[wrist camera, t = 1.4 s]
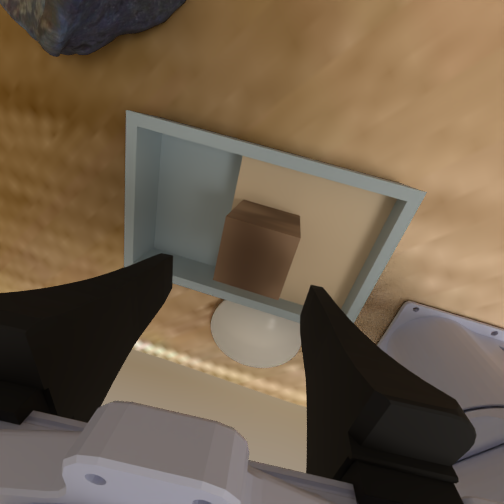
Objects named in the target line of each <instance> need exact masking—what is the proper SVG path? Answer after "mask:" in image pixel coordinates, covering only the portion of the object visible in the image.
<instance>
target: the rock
mask: <svg viewBox="0 0 504 504" xmlns="http://www.w3.org/2000/svg"><path fill="white" fill-rule="evenodd" d="M185 1H186V0H0V4H1V5H2V6H3V8H4V9H5V10H6V11H7V13H8V14H9V15H10V16H11V17H12V18H13V19H14V20H15V21H16V22H17V23H18V24H19V25H20V26H21V27H23V28H24V29H25V30H26V31H27V32H28V33H29V35H30V36H31V37H33V38H34V39H35V40H37V41H38V42H39V44H40V45H41V46H42V48H43V49H44V50H45V51H46V52H48V53H49V54H50V55H52V56H56V57H58V56H59V55H60V53H61V54H64V55H72V54H79V55H88V54H90V53H92V52H95V51H96V50H98V49H100V48H101V47H103V46H105V45H107V44H108V43H110V42H112V41H113V40H114V39H115V38H116V37H117V36H119V35H124V34H132V33H138V32H142V31H145V30H148V29H150V28H152V27H154V26H156V25H158V24H160V23H163V22H165V21H166V20H167V19H168V18H169V17H170V16H171V15H172V13H173V12H174V11H175V10H177V9H178V8H179V7H180V6H181V5H182V4H183V3H184V2H185Z"/></svg>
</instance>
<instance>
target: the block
mask: <svg viewBox="0 0 504 504" xmlns="http://www.w3.org/2000/svg"><path fill="white" fill-rule="evenodd" d="M300 239H301V231H300V216H299V215H296V214H292V213H289V212H285V211H282V210H278V209H275V208H271V207H268V206H265V205H261V204H258V203H254V202H251V201H247V200H244V199H243V200H242V201H241V202H240V203H239V204H238V205H237V206H236V207H235V208H234V209H233V210H232V211H231V212H230V213H229V214H228V215H227V216H226V218H225V223H224V228H223V232H222V237H221V242H220V247H219V252H218V257H217V262H216V267H215V272H214V276H213V280H214V281H218V282H221V283H224V284H227V285H230V286H234V287H237V288H240V289H243V290H246V291H250V292H253V293H256V294H259V295H263V296H266V297H269V298H272V299H275V300H279V297H280V294H281V292H282V289H283V286H284V283H285V280H286V278H287V275H288V272H289V269H290V267H291V264H292V261H293V258H294V256H295V253H296V250H297V247H298V244H299V242H300Z"/></svg>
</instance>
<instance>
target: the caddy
mask: <svg viewBox="0 0 504 504" xmlns="http://www.w3.org/2000/svg"><path fill="white" fill-rule="evenodd" d="M426 193H427V192H424V191H421V190H418V189H415V188H412V187H410V186H407V185H404V184H401V183H397V182H394V181H390V180H386V179H383V178H379V177H376V176H372V175H368V174H365V173H361V172H357V171H354V170H350V169H346V168H343V167H339V166H335V165H332V164H328V163H325V162H321V161H317V160H314V159H310V158H306V157H303V156H299V155H295V154H292V153H288V152H284V151H281V150H277V149H274V148H270V147H266V146H263V145H259V144H255V143H252V142H248V141H244V140H241V139H237V138H233V137H230V136H226V135H223V134H219V133H215V132H212V131H208V130H204V129H201V128H197V127H193V126H190V125H186V124H182V123H179V122H175V121H172V120H168V119H164V118H161V117H157V116H152V115H147V114H143V113H138V112H134V111H129V110H126V155H125V231H124V267H127V266H130V265H132V264H135V263H137V262H140V261H142V260H145V259H147V258H149V257H152V256H154V255H157V254H160V253H164V254H169V255H173V278H172V283H174V284H177V285H180V286H183V287H186V288H190V289H193V290H196V291H199V292H202V293H205V294H209V295H212V296H215V297H218V298H221V299H224V300H228V301H231V302H234V303H237V304H240V305H243V306H247V307H250V308H253V309H256V310H259V311H263V312H266V313H269V314H272V315H275V316H278V317H282V318H285V319H288V320H291V321H294V322H297V323H300V314H301V311H302V308H303V305H304V303H305V300H306V297H307V294H308V291H309V288H310V285H315V286H320V287H323V288H324V289H325V290H326V292H327V293H328V294H329V295H330V296H331V298H332V299H333V300H334V301H335V303H336V304H337V305H338V306H339V308H340V309H341V310H342V311H343V312H344V313H345V315H346V316H347V317H348V318H349V319H350V320H351V321H352V322H353V323H354V322H355V320H356V318H357V316H358V315H359V313H360V311H361V309H362V307H363V306H364V304H365V302H366V300H367V299H368V297H369V295H370V293H371V291H372V290H373V288H374V286H375V284H376V282H377V281H378V279H379V277H380V275H381V274H382V272H383V270H384V268H385V266H386V265H387V263H388V261H389V259H390V257H391V256H392V254H393V252H394V250H395V248H396V247H397V245H398V243H399V241H400V240H401V238H402V236H403V234H404V232H405V231H406V229H407V227H408V225H409V223H410V222H411V220H412V218H413V216H414V215H415V213H416V211H417V209H418V207H419V206H420V204H421V202H422V200H423V198H424V197H425V195H426ZM243 199H244V200H247V201H251V202H254V203H258V204H261V205H265V206H268V207H271V208H275V209H278V210H282V211H285V212H289V213H292V214H296V215H299V216H300V231H301V239H300V242H299V244H298V247H297V250H296V253H295V256H294V258H293V261H292V264H291V267H290V269H289V272H288V275H287V278H286V280H285V283H284V286H283V289H282V292H281V294H280V297H279V300H275V299H272V298H269V297H266V296H263V295H259V294H256V293H253V292H250V291H246V290H243V289H240V288H237V287H234V286H230V285H227V284H224V283H221V282H218V281H214V280H213V276H214V272H215V267H216V262H217V257H218V252H219V247H220V242H221V237H222V232H223V228H224V223H225V218H226V216H227V215H228V214H229V213H230V212H231V211H232V210H233V209H234V208H235V207H236V206H237V205H238V204H239V203H240V202H241V201H242V200H243Z"/></svg>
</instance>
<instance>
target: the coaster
mask: <svg viewBox="0 0 504 504" xmlns="http://www.w3.org/2000/svg"><path fill="white" fill-rule="evenodd" d="M211 332H212V336H213V339H214V341H215V343H216V344H217V346H218V347H219V348H220V349H221V351H222V352H224V353H225V354H226V355H227V356H228V357H230V358H231V359H233V360H234V361H236V362H239V363H241V364H243V365H247V366H250V367H256V368H270V367H275V366H279V365H282V364H284V363H286V362H288V361H289V360H291V359H292V358H293V357H294V356H295V355H296V354H297V352H298V350H299V349H300V346H301V337H300V323H297V322H294V321H291V320H288V319H285V318H282V317H278V316H275V315H272V314H269V313H266V312H263V311H259V310H256V309H253V308H250V307H247V306H243V305H240V304H237V303H234V302H231V301H228V300H223V301H222V302H221V303H220V304H219V305H218V307H217V308H216V310H215V312H214V314H213V316H212V320H211Z"/></svg>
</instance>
